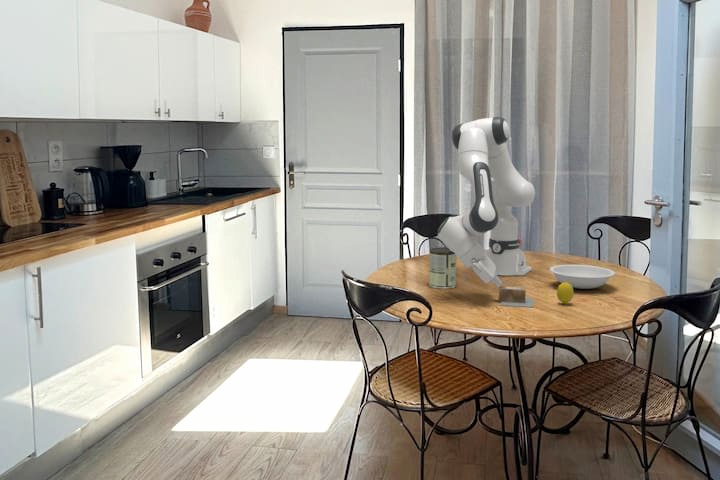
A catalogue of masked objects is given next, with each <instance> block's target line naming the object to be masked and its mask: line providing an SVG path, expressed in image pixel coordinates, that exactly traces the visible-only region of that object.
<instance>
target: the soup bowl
mask: <svg viewBox="0 0 720 480" xmlns="http://www.w3.org/2000/svg"><path fill="white" fill-rule="evenodd" d="M549 272H551V273H552V274H553V275H554V278H555V279H556V280H557V281H558V282H560V284H562V283H564V282H567V283H569V284H570V285H571V286H572V288H573V289H581V290H582V289H583V290H584V289H585V290H586V289H587V290H588V289H597V288H599V287H601V286H603V285H605V284H606V283H607V282H608V281H609V280H610V279H611V278H612V277H614V276H616V271H614V270H612V269H609V268H607V267H601V266H595V265H588V264H560V265H559V264H558V265H553V266H551V267H549Z"/></svg>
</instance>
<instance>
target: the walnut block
mask: <svg viewBox="0 0 720 480" xmlns="http://www.w3.org/2000/svg"><path fill="white" fill-rule="evenodd" d="M526 291H527V290H526V287H524V286H523V287H522V286H521V287H520V286H504V285H501V286H500V287H498V302H499V303H501V302H516V303H525V297H526V295H527V293H526Z"/></svg>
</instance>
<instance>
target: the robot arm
mask: <svg viewBox="0 0 720 480" xmlns="http://www.w3.org/2000/svg"><path fill="white" fill-rule="evenodd" d="M509 138H510V126H509V123H508V122H507V120H506V119H505V118H503V117H502V116H493V117H485V118H479V119H476V120H471V121H468V122H465V123H459V124H457V125H455V126H454V128H453V129H452V132H451V141H452V144H453V146H454V148H455V149H456V150H457V167H458V171H459V174H460V175H461V176H462V177H463V178H465V179H466V180H470V181H471V182H472V184H473V196H474V202H473V205H472V207H471V209H469V210H468V211H466V213H462V214H459V215H457V216H456V215H455V216H448V217H446V218H445V219H444V220H443V222H441V224H440V226H439V227H438V228H437V236H438V238H439V239H440V240H441V242H442V243H443V244H444V245H445V246H446V248H449V249H450V250H451V251H452V252H454V253H455V254H456V258H457V259H458V260H459V261H460V263H462V264H463V265H464V266H465V267H466V268H467V269H469V268H472V270H473V271H474V273H475V274H476V275H477V276H478V277H479V278H480V280H481V281H482V282H484V284H486V285H487V284H489V283H491V282H492V283H493V284H495V285H496V286H497V288H499V287H500V286H503V281H502V280H501V279H500V277H499V276H509V277H510V276H525V275H526V274H528V273H530V271H532V269H533V268H532V266H528V265H527V256H526V254H525V253H524V252H523V251H522V250H521V249H520V245H521V244H522V243H523V240H522V238H518V233H519V230H518V229H519V221H518V218H517V217H515V216H514V215H513V214H512V213H511V211H510V209H509V207H513V208H514V207H515V208H519V207H520V208H522V207H527V206H530V205H531V204H532V203H533V201H534V200H535V196H536V190H535V187H534V185H533V183H532V182H530V181H528V180H526V178H524V177H523V176H522V175H521V174H520V173H519V171H518V170H517V169H516V167H515V166H514V164H513V162H512V160H511V156H510V153H509V151H508V147H507V144H506V142H508V139H509ZM489 231H490V232H489ZM487 232H489V233H490V237H489V238H488V247H489V249H487V250H485V249H484V248H483V246H481V244H480V243H479V242H478V241H477V240H476V239H477V238H479V237H481V236H482V235H484V234H485V233H487Z"/></svg>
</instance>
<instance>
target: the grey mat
mask: <svg viewBox="0 0 720 480" xmlns="http://www.w3.org/2000/svg"><path fill="white" fill-rule="evenodd" d="M499 306H501V307H502V306H503V307H518V308H519V307H521V308H534V297H532V296H531V297H530V296H525V303H516V302H500V305H499Z"/></svg>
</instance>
